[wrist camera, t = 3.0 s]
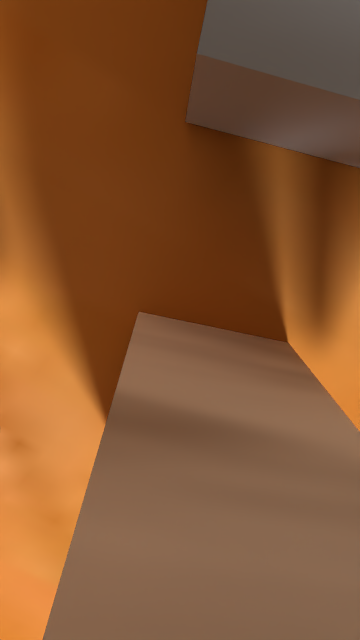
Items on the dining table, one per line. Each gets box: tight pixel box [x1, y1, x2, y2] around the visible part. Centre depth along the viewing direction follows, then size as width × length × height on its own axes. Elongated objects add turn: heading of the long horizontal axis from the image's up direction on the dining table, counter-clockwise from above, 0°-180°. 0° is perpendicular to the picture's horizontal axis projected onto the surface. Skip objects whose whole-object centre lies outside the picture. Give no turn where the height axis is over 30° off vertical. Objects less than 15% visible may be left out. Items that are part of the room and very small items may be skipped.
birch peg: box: [43, 312, 360, 640], centre depth 6 cm, size 4×4×9 cm
